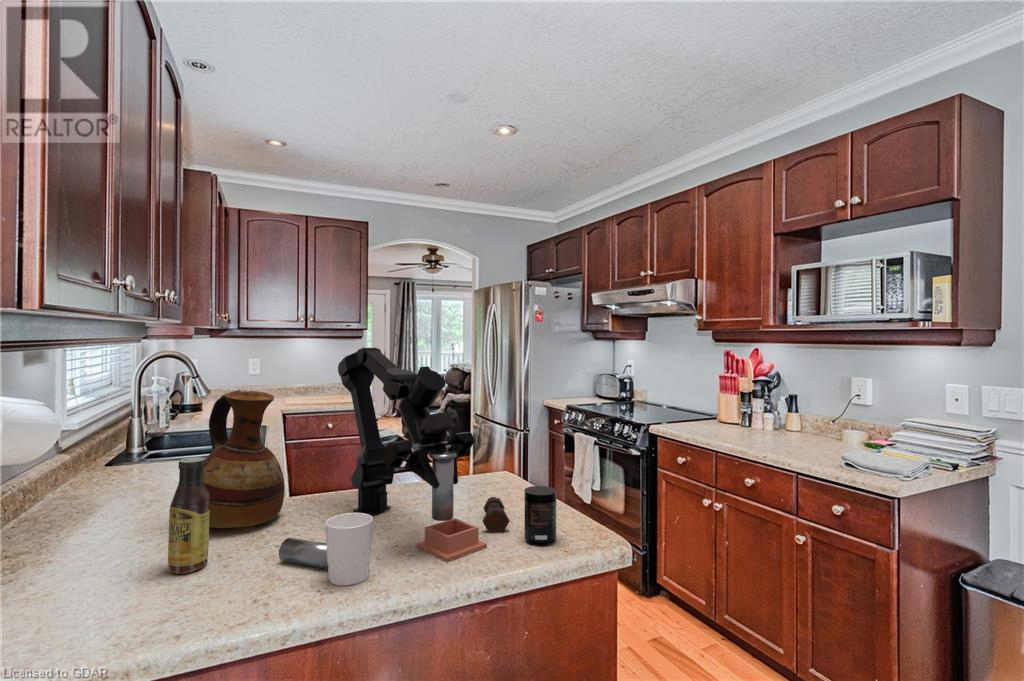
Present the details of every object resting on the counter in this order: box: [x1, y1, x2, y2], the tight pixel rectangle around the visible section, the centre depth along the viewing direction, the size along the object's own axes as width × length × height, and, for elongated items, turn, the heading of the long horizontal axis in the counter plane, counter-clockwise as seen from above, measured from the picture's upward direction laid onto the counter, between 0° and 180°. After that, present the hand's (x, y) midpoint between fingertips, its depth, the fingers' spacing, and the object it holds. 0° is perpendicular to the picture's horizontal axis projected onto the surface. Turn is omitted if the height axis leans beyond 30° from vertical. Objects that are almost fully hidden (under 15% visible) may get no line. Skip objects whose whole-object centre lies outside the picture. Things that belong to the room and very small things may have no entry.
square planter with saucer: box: [415, 517, 488, 563], centre depth 103 cm, size 10×10×4 cm
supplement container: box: [523, 485, 558, 547], centre depth 107 cm, size 7×7×10 cm
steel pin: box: [429, 450, 456, 522], centre depth 101 cm, size 5×5×13 cm
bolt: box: [482, 496, 510, 534], centre depth 118 cm, size 6×5×15 cm
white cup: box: [325, 512, 374, 586], centre depth 90 cm, size 8×8×10 cm
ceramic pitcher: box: [203, 390, 285, 529], centre depth 117 cm, size 20×20×30 cm
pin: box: [278, 537, 328, 570], centre depth 95 cm, size 12×4×4 cm, turn 71°
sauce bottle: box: [167, 456, 210, 575], centre depth 93 cm, size 6×6×20 cm
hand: (446, 485), depth 100 cm, fingers closed on steel pin, 4 cm apart
